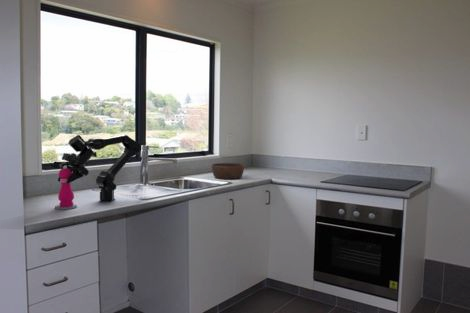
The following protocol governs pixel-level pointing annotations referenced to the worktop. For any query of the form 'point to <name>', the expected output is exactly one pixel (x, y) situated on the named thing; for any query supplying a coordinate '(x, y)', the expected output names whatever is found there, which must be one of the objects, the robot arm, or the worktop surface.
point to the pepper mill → (65, 188)
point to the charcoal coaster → (65, 207)
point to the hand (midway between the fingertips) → (62, 182)
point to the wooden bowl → (227, 170)
